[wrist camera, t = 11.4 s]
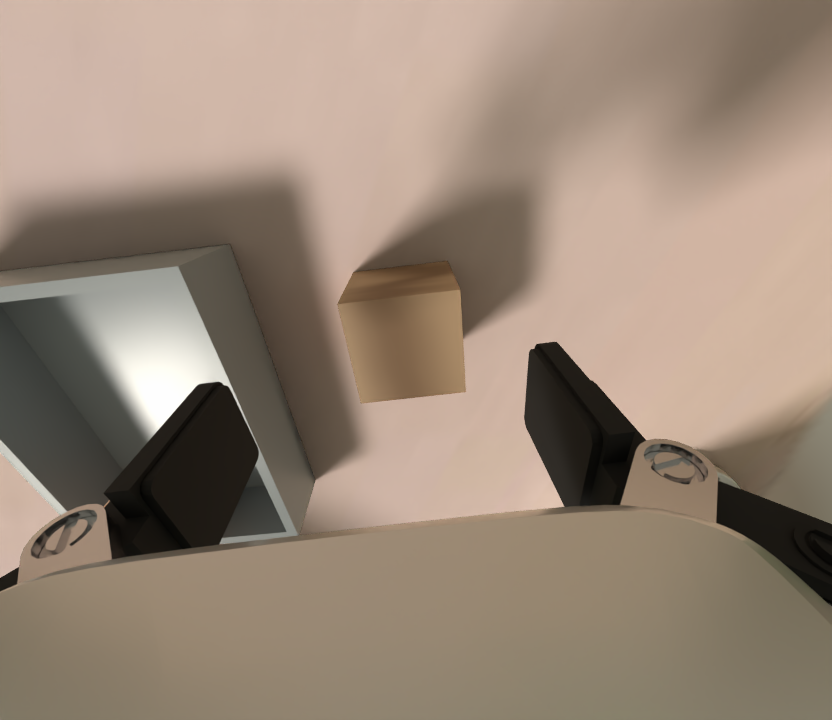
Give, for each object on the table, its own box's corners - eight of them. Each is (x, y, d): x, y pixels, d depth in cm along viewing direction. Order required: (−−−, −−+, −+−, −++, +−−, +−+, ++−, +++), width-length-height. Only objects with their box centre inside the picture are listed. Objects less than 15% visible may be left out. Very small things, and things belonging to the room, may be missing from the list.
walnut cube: (447, 260, 18) (460, 289, 14) (453, 344, 20) (465, 391, 16) (353, 271, 18) (337, 304, 14) (370, 353, 21) (361, 403, 16)
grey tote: (229, 243, 17) (177, 266, 13) (315, 480, 26) (298, 537, 22) (-21, 273, 18) (-143, 303, 14) (144, 497, 26) (97, 555, 22)
